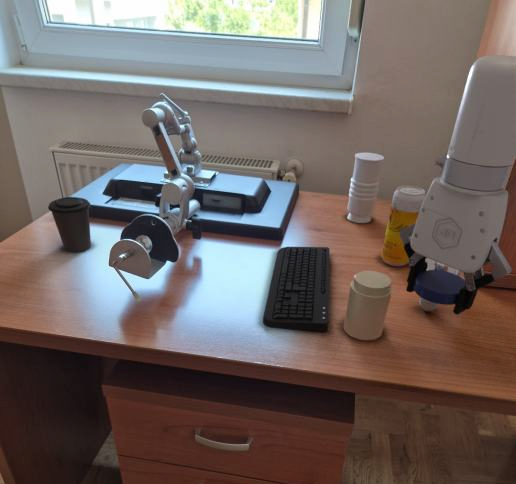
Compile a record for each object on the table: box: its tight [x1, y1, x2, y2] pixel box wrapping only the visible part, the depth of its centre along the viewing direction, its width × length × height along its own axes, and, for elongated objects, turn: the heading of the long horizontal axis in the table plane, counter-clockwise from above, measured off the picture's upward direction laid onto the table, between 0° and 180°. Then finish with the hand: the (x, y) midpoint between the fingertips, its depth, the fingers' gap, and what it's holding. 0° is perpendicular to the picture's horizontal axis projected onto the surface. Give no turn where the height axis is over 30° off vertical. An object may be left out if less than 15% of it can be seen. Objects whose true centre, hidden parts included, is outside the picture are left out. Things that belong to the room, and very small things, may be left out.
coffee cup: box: [47, 196, 92, 253], centre depth 98 cm, size 8×8×10 cm
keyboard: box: [262, 246, 330, 333], centre depth 90 cm, size 30×11×2 cm, turn 173°
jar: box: [343, 270, 393, 341], centre depth 76 cm, size 6×6×9 cm
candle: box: [346, 152, 385, 224], centre depth 115 cm, size 7×7×15 cm
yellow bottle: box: [380, 185, 426, 267], centre depth 96 cm, size 6×6×15 cm
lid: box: [414, 270, 466, 306], centre depth 67 cm, size 7×7×2 cm
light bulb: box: [418, 258, 462, 313], centre depth 81 cm, size 7×7×12 cm
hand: (436, 298), depth 68 cm, fingers closed on lid, 7 cm apart
